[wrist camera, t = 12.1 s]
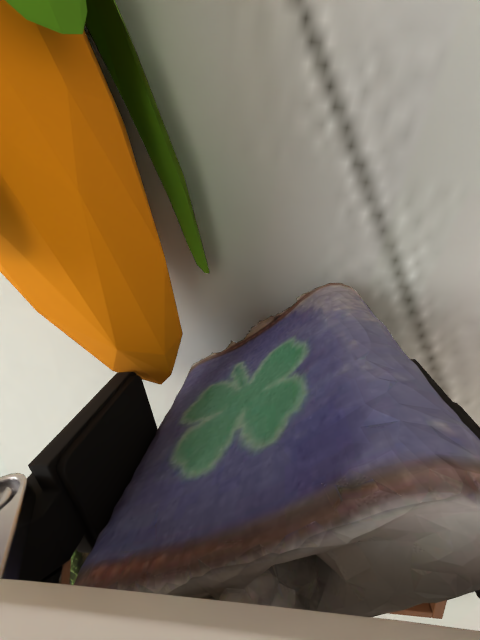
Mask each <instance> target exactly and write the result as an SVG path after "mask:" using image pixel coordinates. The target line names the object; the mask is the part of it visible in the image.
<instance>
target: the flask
mask: <svg viewBox="0 0 480 640" xmlns="http://www.w3.org/2000/svg"><path fill="white" fill-rule="evenodd" d="M249 332H250V333H248V334H247V336H246V337H245V338H244V340H241V341H240V342H238V343H236V342H233V341H231V344H229V346H228V347H227V348H226V350H224V351H222V352H220V353H212V354H211V355H210V356H209V357H206V358H205V359H201V360H200V361H199V362H197V363H194V364H193V365H192V367H191V369H190V371H189V373H188V376H187V378H186V380H185V382H184V384H183V386H182V388H181V390H180V392H179V393H178V395H177V396H176V398H175V400H174V403H173V405H172V407H171V409H170V410H169V412H168V413H167V414H166V416H165V418H164V420H163V422H162V423H161V425H160V427H159V428H158V430H157V432H156V435H155V437H154V439H153V440H152V442H151V444H150V445H149V447H148V449H147V452H146V453H145V455H144V456H143V458H142V460H141V462H140V464H139V465H138V467H137V469H136V470H135V472H134V475H133V477H132V479H131V481H130V483H129V484H128V485H127V487H126V488H125V490H124V492H123V494H122V496H121V498H120V499H119V501H118V502H117V504H116V505H115V507H114V510H113V513H112V516H111V518H110V520H109V522H108V524H107V525H106V526H105V528H104V529H103V530H102V531H101V532H100V533H99V535H98V537H97V540H96V543H95V545H94V547H93V549H92V551H91V552H90V553H89V555H88V556H87V558H86V560H85V561H84V563H83V565H82V566H81V568H80V571H79V573H78V575H77V578H76V580H75V583H74V584H73V585H76V586H86V587H96V588H106V589H116V590H125V591H135V592H144V593H154V594H163V595H173V596H182V597H192V598H201V599H210V600H219V601H229V602H238V603H247V604H257V605H266V606H275V607H284V608H292V609H301V610H310V611H319V612H328V613H337V614H346V615H354V616H363V617H374V616H378V615H381V614H386V613H391V612H396V611H401V610H405V609H408V608H411V607H413V606H416V605H419V604H422V603H438V602H442V601H445V600H449V599H452V598H456V597H459V596H462V595H464V594H467V593H470V592H474V591H477V590H480V440H479V439H478V437H477V436H476V435H475V434H474V433H473V432H472V431H471V430H470V429H469V428H468V427H467V426H466V425H465V424H464V423H463V422H462V421H461V419H460V418H459V417H458V415H457V414H456V413H455V412H454V411H453V410H452V409H451V408H450V407H449V406H448V405H447V404H446V403H445V402H444V401H443V400H442V398H441V397H440V396H439V395H438V393H437V392H436V391H435V390H434V389H433V387H432V386H431V385H430V384H429V382H428V381H427V379H426V378H425V376H424V375H423V373H422V372H421V371H420V369H419V368H418V366H417V365H416V364H415V363H414V362H413V361H411V360H410V359H409V358H408V357H407V355H406V354H405V353H404V352H403V351H402V349H401V348H400V347H399V345H398V344H397V342H396V341H395V340H394V339H393V337H392V335H391V334H390V332H389V330H388V329H387V327H386V326H385V325H384V324H383V323H382V322H381V321H380V320H378V319H377V318H376V316H375V315H374V314H373V313H372V311H371V310H370V309H369V307H368V306H367V305H366V303H365V302H364V301H363V300H362V298H361V296H360V295H359V294H358V293H357V292H356V291H355V290H354V289H353V288H351V287H349V286H346V285H343V284H342V283H329V284H326V285H324V286H321V287H318V288H315V289H313V290H312V291H310V292H308V293H304V294H302V295H301V296H299V297H298V298H297V302H296V303H295V304H294V305H293V306H292V307H290V308H288V309H286V310H284V311H282V313H279V314H277V315H275V316H270V317H268V318H267V319H266V320H264V321H259V323H258V324H257V325H256V326H254V327H252V328H251V330H250V331H249Z"/></svg>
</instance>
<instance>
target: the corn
mask: <svg viewBox="0 0 480 640" xmlns="http://www.w3.org/2000/svg"><path fill="white" fill-rule="evenodd" d="M85 24H86V26H87V28H88V30H89V32H90V34H91V36H92V38H93V40H94V42H95V44H96V46H97V48H98V50H99V52H100V54H101V56H102V58H103V60H104V62H105V64H106V66H107V68H108V70H109V72H110V74H111V76H112V79H113V81H114V83H115V85H116V87H117V89H118V91H119V93H120V95H121V97H122V99H123V101H124V103H125V105H126V107H127V109H128V111H129V113H130V116H131V118H132V120H133V122H134V124H135V126H136V128H137V131H138V133H139V135H140V137H141V139H142V141H143V143H144V146H145V148H146V150H147V152H148V154H149V156H150V158H151V161H152V163H153V165H154V167H155V169H156V171H157V173H158V176H159V178H160V180H161V182H162V184H163V186H164V188H165V191H166V193H167V195H168V197H169V199H170V202H171V204H172V207H173V209H174V212H175V214H176V217H177V219H178V222H179V224H180V227H181V229H182V232H183V234H184V237H185V239H186V242H187V244H188V246H189V248H190V251H191V253H192V255H193V257H194V259H195V262H196V264H197V265H198V266H199V267H200V268H201V269H202V271H203V272H204V273H208V274H209V268H208V265H207V261H206V257H205V253H204V249H203V245H202V242H201V238H200V234H199V230H198V227H197V223H196V219H195V215H194V212H193V208H192V204H191V200H190V197H189V193H188V189H187V185H186V182H185V178H184V175H183V172H182V170H181V167H180V165H179V162H178V159H177V157H176V154H175V152H174V149H173V146H172V144H171V141H170V139H169V136H168V133H167V131H166V128H165V126H164V123H163V120H162V118H161V115H160V113H159V110H158V108H157V105H156V102H155V100H154V97H153V95H152V92H151V89H150V87H149V84H148V82H147V79H146V76H145V74H144V71H143V69H142V66H141V64H140V61H139V58H138V56H137V53H136V51H135V48H134V45H133V43H132V41H131V38H130V36H129V33H128V31H127V29H126V26H125V24H124V21H123V19H122V17H121V14H120V12H119V9H118V7H117V4H116V2H115V0H0V272H1V273H2V274H3V275H4V276H5V277H6V278H7V279H8V280H9V281H10V283H11V284H12V285H13V286H14V287H15V288H16V289H17V290H18V291H19V292H20V293H21V294H22V296H23V297H24V298H25V299H26V300H27V301H28V302H29V303H30V304H31V305H32V306H33V307H34V308H35V310H36V311H37V312H38V313H40V314H41V315H42V316H44V317H45V318H46V319H47V320H49V321H50V322H51V323H52V324H54V325H55V326H56V327H58V328H59V329H60V330H61V331H63V332H64V333H65V334H67V335H68V336H69V337H70V338H72V339H73V340H74V341H75V342H77V343H78V344H79V345H81V346H82V347H83V348H84V349H86V350H87V351H88V352H89V353H91V354H92V355H93V356H95V357H96V358H97V359H98V360H100V361H101V362H102V363H103V364H105V365H106V366H107V367H109V368H110V369H111V370H112V371H115V372H135V373H136V374H137V375H138V376H140V377H141V379H143V380H147V381H150V382H154V383H157V384H162V383H163V382H164V381H165V380H166V379H167V378H168V377H169V376H170V375H171V373H172V370H173V367H174V364H175V360H176V357H177V353H178V349H179V345H180V342H181V338H182V334H183V333H182V329H181V325H180V320H179V316H178V312H177V307H176V303H175V299H174V294H173V290H172V286H171V282H170V277H169V273H168V269H167V264H166V260H165V256H164V253H163V249H162V246H161V243H160V239H159V236H158V233H157V230H156V226H155V223H154V220H153V216H152V213H151V210H150V207H149V203H148V200H147V197H146V194H145V190H144V187H143V184H142V180H141V177H140V174H139V171H138V167H137V164H136V161H135V157H134V154H133V151H132V148H131V144H130V141H129V138H128V134H127V131H126V128H125V125H124V122H123V120H122V118H121V115H120V113H119V111H118V108H117V106H116V104H115V101H114V99H113V96H112V94H111V92H110V89H109V87H108V85H107V82H106V80H105V78H104V75H103V73H102V71H101V68H100V66H99V64H98V61H97V59H96V56H95V54H94V52H93V49H92V47H91V45H90V42H89V40H88V38H87V35H86V33H85V31H84V26H85Z"/></svg>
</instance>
